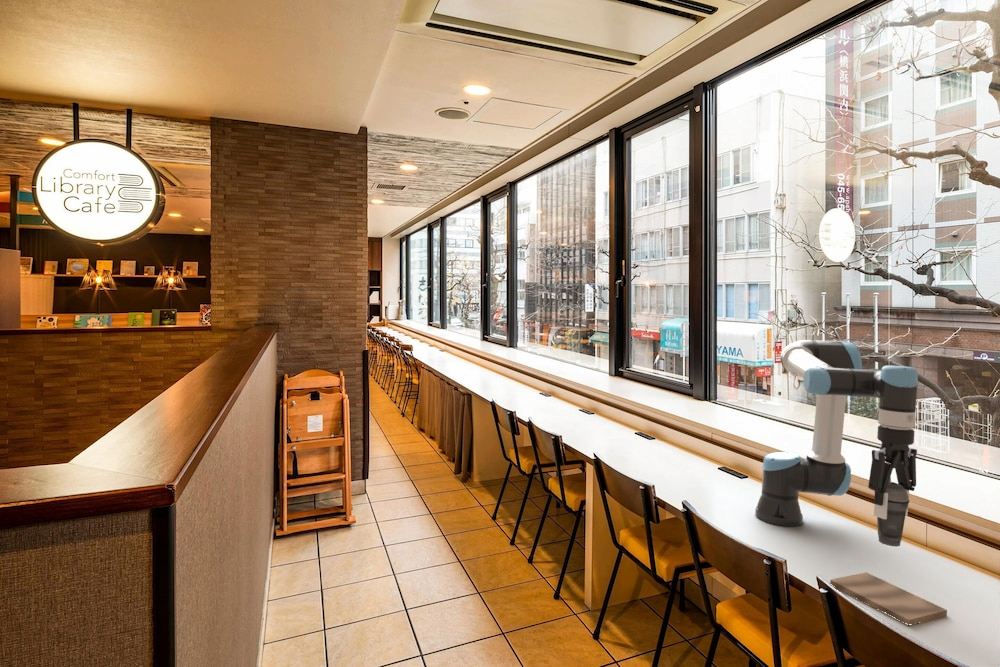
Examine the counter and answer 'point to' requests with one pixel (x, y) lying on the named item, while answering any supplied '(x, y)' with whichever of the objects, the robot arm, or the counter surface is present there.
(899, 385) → the robot arm
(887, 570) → the counter surface
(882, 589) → the serving board
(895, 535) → the beverage cup
